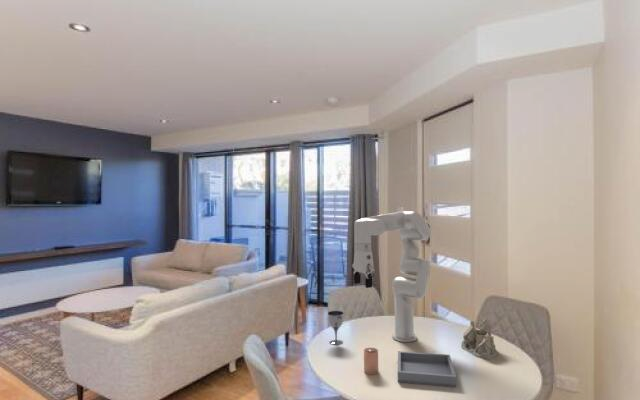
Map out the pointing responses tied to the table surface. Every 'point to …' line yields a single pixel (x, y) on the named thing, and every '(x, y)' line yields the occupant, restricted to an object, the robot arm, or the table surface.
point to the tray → (426, 369)
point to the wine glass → (335, 324)
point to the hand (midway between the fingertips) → (362, 285)
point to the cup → (371, 361)
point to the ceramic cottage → (479, 341)
